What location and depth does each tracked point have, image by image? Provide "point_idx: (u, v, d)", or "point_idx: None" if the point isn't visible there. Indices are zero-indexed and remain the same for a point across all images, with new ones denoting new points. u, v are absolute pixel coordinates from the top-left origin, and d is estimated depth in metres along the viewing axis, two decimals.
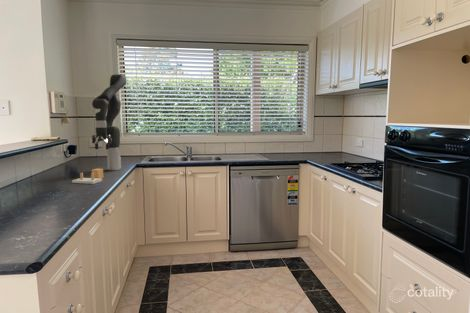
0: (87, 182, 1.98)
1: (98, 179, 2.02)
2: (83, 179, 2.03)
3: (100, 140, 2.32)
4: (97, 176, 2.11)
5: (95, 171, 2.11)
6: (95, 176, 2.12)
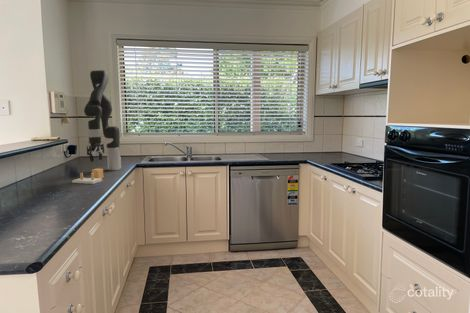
0: (87, 182, 1.98)
1: (98, 179, 2.02)
2: (83, 179, 2.03)
3: (97, 150, 2.11)
4: (97, 176, 2.11)
5: (95, 171, 2.11)
6: (95, 176, 2.12)
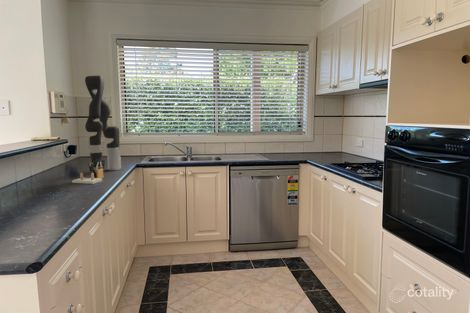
0: (87, 182, 1.98)
1: (98, 179, 2.02)
2: (83, 179, 2.03)
3: (98, 166, 2.13)
4: (97, 176, 2.11)
5: None
6: None
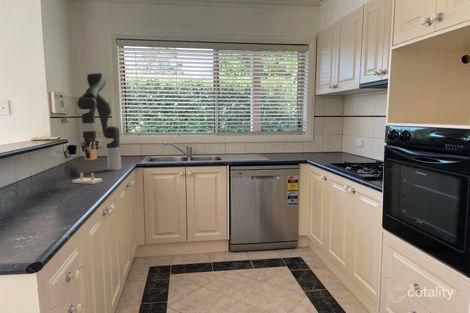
0: (87, 182, 1.98)
1: (98, 179, 2.02)
2: (83, 179, 2.03)
3: (91, 146, 1.99)
4: (90, 157, 1.97)
5: None
6: None
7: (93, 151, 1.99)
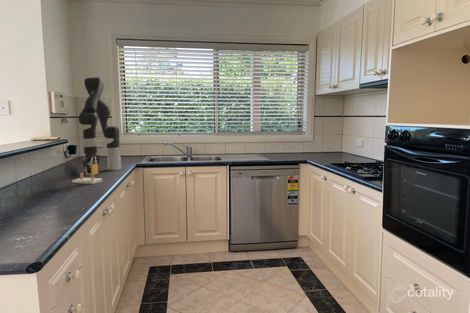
0: (87, 182, 1.98)
1: (98, 179, 2.02)
2: (83, 179, 2.03)
3: (92, 161, 2.00)
4: (91, 172, 1.98)
5: None
6: None
7: (94, 166, 2.00)
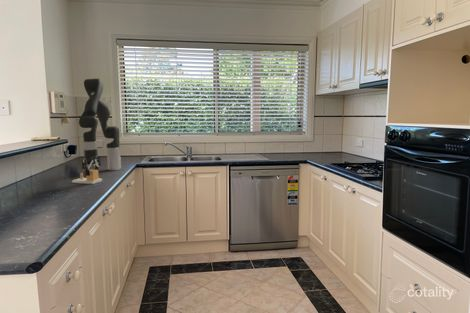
0: (87, 182, 1.98)
1: (98, 179, 2.02)
2: (83, 179, 2.03)
3: (92, 164, 2.00)
4: (92, 177, 1.99)
5: (90, 172, 1.99)
6: (90, 177, 1.99)
7: (95, 172, 2.00)
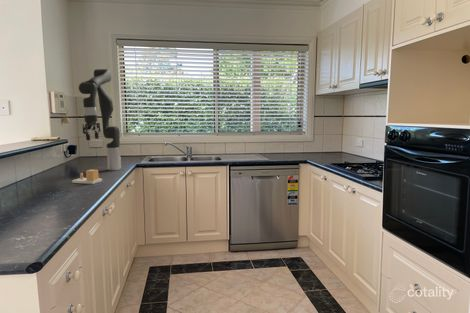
0: (87, 182, 1.98)
1: (98, 179, 2.02)
2: (83, 179, 2.03)
3: (93, 129, 2.07)
4: (92, 177, 1.99)
5: (90, 172, 1.99)
6: (90, 177, 1.99)
7: (95, 172, 2.00)
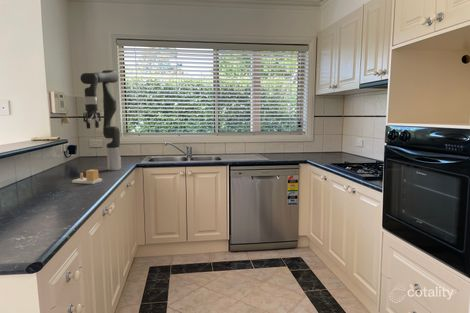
0: (87, 182, 1.98)
1: (98, 179, 2.02)
2: (83, 179, 2.03)
3: (93, 118, 2.15)
4: (92, 177, 1.99)
5: (90, 172, 1.99)
6: (90, 177, 1.99)
7: (95, 172, 2.00)
